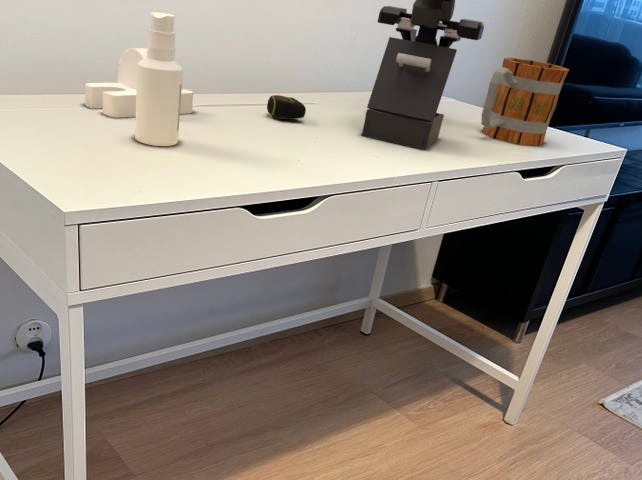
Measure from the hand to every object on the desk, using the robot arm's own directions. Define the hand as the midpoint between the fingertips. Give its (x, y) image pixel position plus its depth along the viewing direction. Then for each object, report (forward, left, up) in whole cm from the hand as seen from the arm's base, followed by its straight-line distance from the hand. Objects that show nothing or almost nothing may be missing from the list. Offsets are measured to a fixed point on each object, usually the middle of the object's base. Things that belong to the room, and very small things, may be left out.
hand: (418, 72), depth 126 cm
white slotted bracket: (+33, -40, -12) cm, 54 cm away
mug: (-22, +16, -12) cm, 29 cm away
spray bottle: (+48, -25, -12) cm, 56 cm away
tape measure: (+11, -21, -12) cm, 27 cm away
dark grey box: (+3, 0, -12) cm, 12 cm away
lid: (+6, +1, -1) cm, 6 cm away
